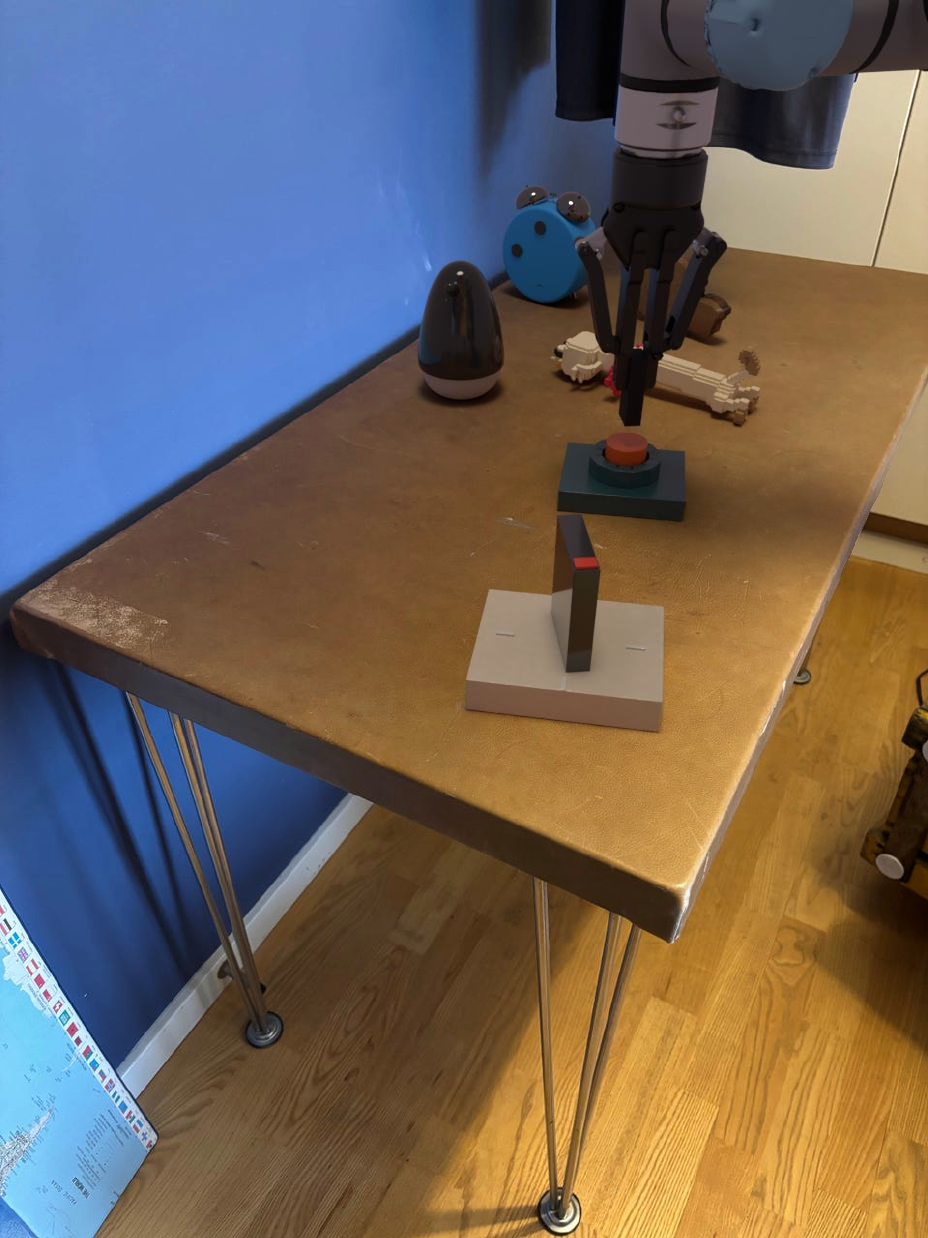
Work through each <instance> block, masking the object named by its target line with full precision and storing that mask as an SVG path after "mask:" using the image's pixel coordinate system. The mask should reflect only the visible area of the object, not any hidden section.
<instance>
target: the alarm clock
mask: <svg viewBox="0 0 928 1238" xmlns="http://www.w3.org/2000/svg"><path fill="white" fill-rule="evenodd" d="M550 196H552V198H548V197H550ZM557 196H558V193H557V192H552V191H550V192H548V189H546V187H544V186H541V185H538V184H537V185H536V184H535V185H530V186H529V185H528V184H526V185H525V188H524V189H522V190H520V192H519V193H518V194H517V196H516V197H515V200H514V208H515V210H516V211H518V212H517V213H516V214H515V215H514V216H513V217H512V218H511V219H510V221H509V223H507V226H506V228H505V231H504V234H503V239H502V259H503V265H504V268H505V271H506V273H507V276H508V277H509V280H510V282H511V283H512V284H513V286H514V287H515V289H517V290H518V292H520V293H521V294H522V295H523V296H524V297H526V298H527V299H529V300H530V301H534V302H536V303H541V304H552V303H556V302H558V301H561V300H563V299H565V298H567V297H568V296H570V295H572V298H573V299H574V300H577V294H576V292H578V291H580V290H581V289H583V288H584V287H585V286H587V282H586V276H585V270H584V264H583V262H582V261H581V259H580V257H579V255H578V254H577V252H576V250H575V248H574V246H573V242H574V240H575V239H576V238H577V237H579V236H583V237H587V236H588V235H589V234H591V233H592V232H594V231H595V230H597V229H596V226H595V224H594V221H593V220H592V218H591V217H590V215H591V205H590V203H589V200H588V199H587V198H586V197H585V196H584V195H583V194H582V193H579V192H576V191H566V192H564V193H562V194H560V195H559V197H557ZM546 198H548V199H546ZM544 199H545V200H544ZM541 200H543V201H541Z"/></svg>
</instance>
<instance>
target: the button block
mask: <svg viewBox="0 0 928 1238" xmlns="http://www.w3.org/2000/svg"><path fill="white" fill-rule="evenodd" d="M606 440H607V438H606V439H601V440H599V441H598V442H597V443H595V444H594V443H585V442H584V443H583V442H571V441H569V442H567V443H566V449H565V455H564V459H563V465H562V470H561V476H560V481H559V487H558V491H557V492H558V493H557V506H556V507H557V509H556V510H557V511H560V512H569V513H572V512H573V513H581V514H582V513H584V514H594V515H606V516H619V517H627V518H628V517H630V518H642V519H652V520H664V521H676V522H683V521H684V517H685V516H684V515H685V510H686V504H687V495H686V494H687V488H686V487H687V486H686V485H687V484H686V483H687V482H686V452H685V450H675V449H664V448H663V449H662V448H661V449H660V448H657V447H656V446H655V445H654V444H652V443H650V442H648V447H647V455H646V460H645V462H644V463H643V464H640V465H635V466H621V465H616V464H614V463H611V462H608V461H607V460H606V458H605V449H606Z"/></svg>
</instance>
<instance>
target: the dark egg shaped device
mask: <svg viewBox="0 0 928 1238" xmlns="http://www.w3.org/2000/svg"><path fill="white" fill-rule="evenodd" d="M418 336H419V337H418V345H417V365H418V367H419V369H420V370H421V373H422V376H423V379H424V381H425V382H426V384H427V386H429V388H431V390H432V391H434V392H435V393H436V394H437V395H440V396H442V397H445V398H448V399H451V400H458V401H459V400H461V401H463V400H471V399H476V398H478V397H480V396H482V395H484V394H486V393H487V392H489V391H490V390H491V389H492V388H493V387H494V385H496V383H497V381H498V379H499V377H500V373H501V370H502V368H503V367H504V365H505V346H504V345H505V344H504V338H503V331H502V326H501V322H500V316H499V313H498V310H497V305H496V302H495V298H494V295H493V293H492V290H491V287H490V284H489V282H488V281H487V279H486V277H485V275H484V274H483V272H482V271H481V269H480V268H479V267H478V266H477V265H475V264H474V263H473V262H470V261H467V260H461V259H460V260H453V261H450V262H448V263H446V264H445V265H444V266H442V268H440V270H439V271H438V273H437V274H436V275H435V278H434V280H433V281H432V284H431V286H430V289H429V292H428V294H427V298H426V302H425V306H424V310H423V314H422V319H421V322H420V330H419V335H418Z"/></svg>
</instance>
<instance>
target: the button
mask: <svg viewBox="0 0 928 1238" xmlns="http://www.w3.org/2000/svg"><path fill="white" fill-rule="evenodd" d="M606 439H607V440H606V449H605V458H606V460H607V461H608V462H611V463H614V464H616V465H621V466H635V465H640V464H643V463H644V462H645V460H646V455H647V447H648V443H649V442H648V440H647V439H646V438H645V437H644V436H642V435H641V434H638V433H634V432H627V431H626V432H625V431H623V432H616V433H612V434H611V435H609V436H608V437H606Z"/></svg>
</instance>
